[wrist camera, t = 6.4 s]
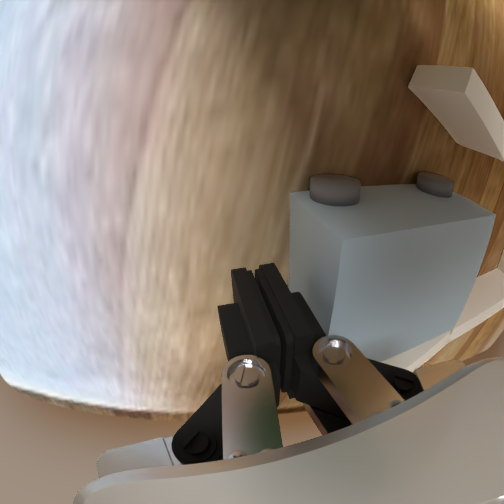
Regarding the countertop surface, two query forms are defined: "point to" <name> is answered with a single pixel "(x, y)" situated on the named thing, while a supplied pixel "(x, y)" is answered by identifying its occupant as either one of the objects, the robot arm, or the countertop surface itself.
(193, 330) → the countertop surface
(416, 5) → the countertop surface
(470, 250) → the grey boxy piece
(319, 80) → the countertop surface
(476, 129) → the bay
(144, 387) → the countertop surface
